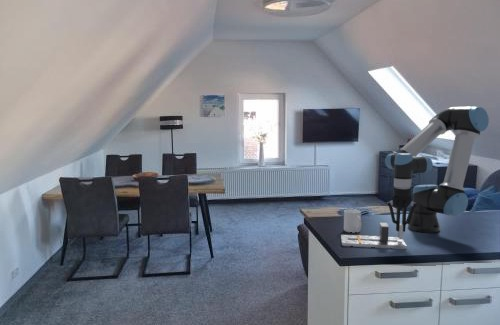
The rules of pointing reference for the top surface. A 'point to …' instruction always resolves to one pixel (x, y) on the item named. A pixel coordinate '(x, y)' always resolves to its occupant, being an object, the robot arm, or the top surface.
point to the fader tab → (384, 232)
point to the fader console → (372, 242)
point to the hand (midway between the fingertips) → (400, 238)
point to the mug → (352, 220)
